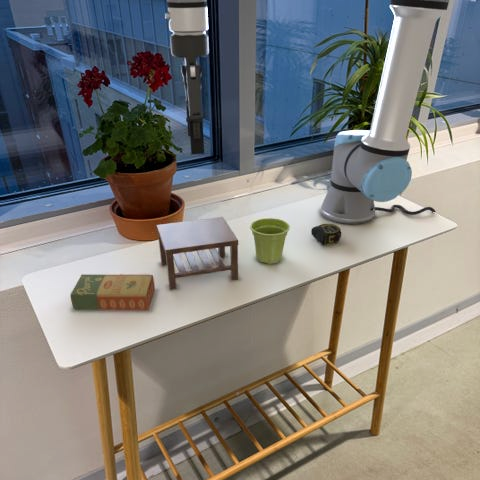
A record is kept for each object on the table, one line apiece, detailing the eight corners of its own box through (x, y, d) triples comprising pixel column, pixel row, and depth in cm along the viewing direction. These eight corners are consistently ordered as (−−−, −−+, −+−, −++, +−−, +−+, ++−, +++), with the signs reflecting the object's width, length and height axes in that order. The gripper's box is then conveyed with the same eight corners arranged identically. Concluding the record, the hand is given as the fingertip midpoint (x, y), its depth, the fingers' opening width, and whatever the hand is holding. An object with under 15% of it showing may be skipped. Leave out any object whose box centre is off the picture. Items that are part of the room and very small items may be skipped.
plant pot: (243, 253, 122) (243, 221, 117) (277, 246, 125) (278, 215, 120) (259, 270, 115) (260, 237, 110) (294, 263, 118) (297, 230, 113)
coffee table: (224, 253, 122) (223, 216, 116) (238, 279, 112) (238, 240, 106) (160, 262, 118) (156, 224, 112) (169, 290, 108) (165, 250, 102)
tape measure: (309, 237, 129) (310, 224, 127) (332, 234, 131) (334, 221, 129) (320, 249, 124) (322, 235, 122) (344, 245, 126) (346, 231, 123)
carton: (148, 311, 101) (146, 294, 99) (72, 310, 102) (68, 293, 99) (155, 289, 108) (153, 273, 106) (84, 289, 109) (80, 272, 106)
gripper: (168, 27, 104) (177, 129, 117) (170, 41, 84) (180, 163, 97) (203, 26, 105) (208, 128, 117) (213, 39, 85) (218, 161, 97)
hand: (195, 144), depth 107 cm, fingers open, 13 cm apart
